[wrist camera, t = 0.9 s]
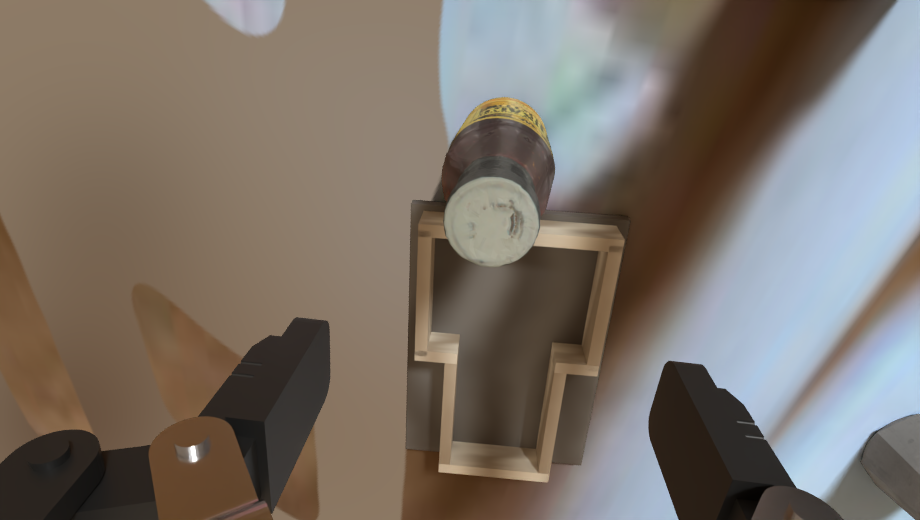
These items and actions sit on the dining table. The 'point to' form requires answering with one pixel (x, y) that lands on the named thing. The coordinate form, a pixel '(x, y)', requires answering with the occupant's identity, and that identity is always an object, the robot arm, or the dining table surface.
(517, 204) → the sauce bottle
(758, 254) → the dining table surface
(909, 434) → the coffeepot
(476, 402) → the keyhole board
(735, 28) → the dining table surface
